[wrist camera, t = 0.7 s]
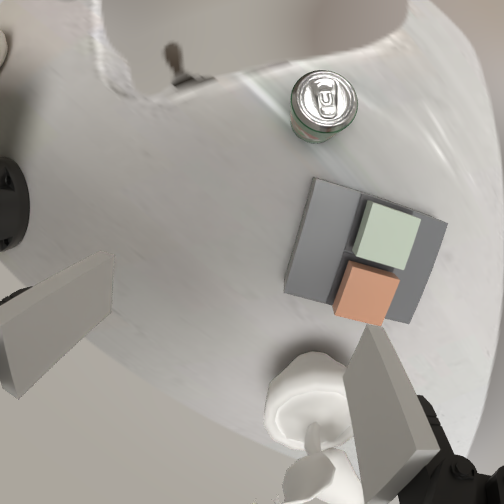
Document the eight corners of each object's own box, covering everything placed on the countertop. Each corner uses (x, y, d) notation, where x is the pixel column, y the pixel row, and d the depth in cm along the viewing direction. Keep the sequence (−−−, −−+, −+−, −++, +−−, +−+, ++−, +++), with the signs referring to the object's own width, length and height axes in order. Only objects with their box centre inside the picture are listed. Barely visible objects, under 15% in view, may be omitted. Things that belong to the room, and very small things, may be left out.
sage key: (352, 250, 29) (356, 256, 27) (367, 200, 28) (373, 202, 26) (397, 264, 29) (403, 270, 27) (413, 215, 28) (421, 219, 26)
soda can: (333, 97, 31) (354, 64, 19) (339, 141, 32) (366, 129, 20) (287, 101, 31) (285, 68, 20) (293, 146, 33) (296, 134, 21)
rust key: (332, 306, 31) (334, 315, 29) (348, 260, 30) (352, 266, 28) (376, 317, 31) (380, 326, 29) (393, 273, 29) (400, 280, 27)
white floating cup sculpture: (250, 361, 40) (211, 533, 16) (326, 316, 37) (358, 498, 13) (303, 416, 42) (300, 569, 18) (373, 379, 39) (415, 537, 15)
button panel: (284, 279, 37) (283, 293, 33) (313, 177, 33) (316, 178, 29) (399, 309, 36) (409, 324, 32) (432, 217, 33) (448, 223, 29)
